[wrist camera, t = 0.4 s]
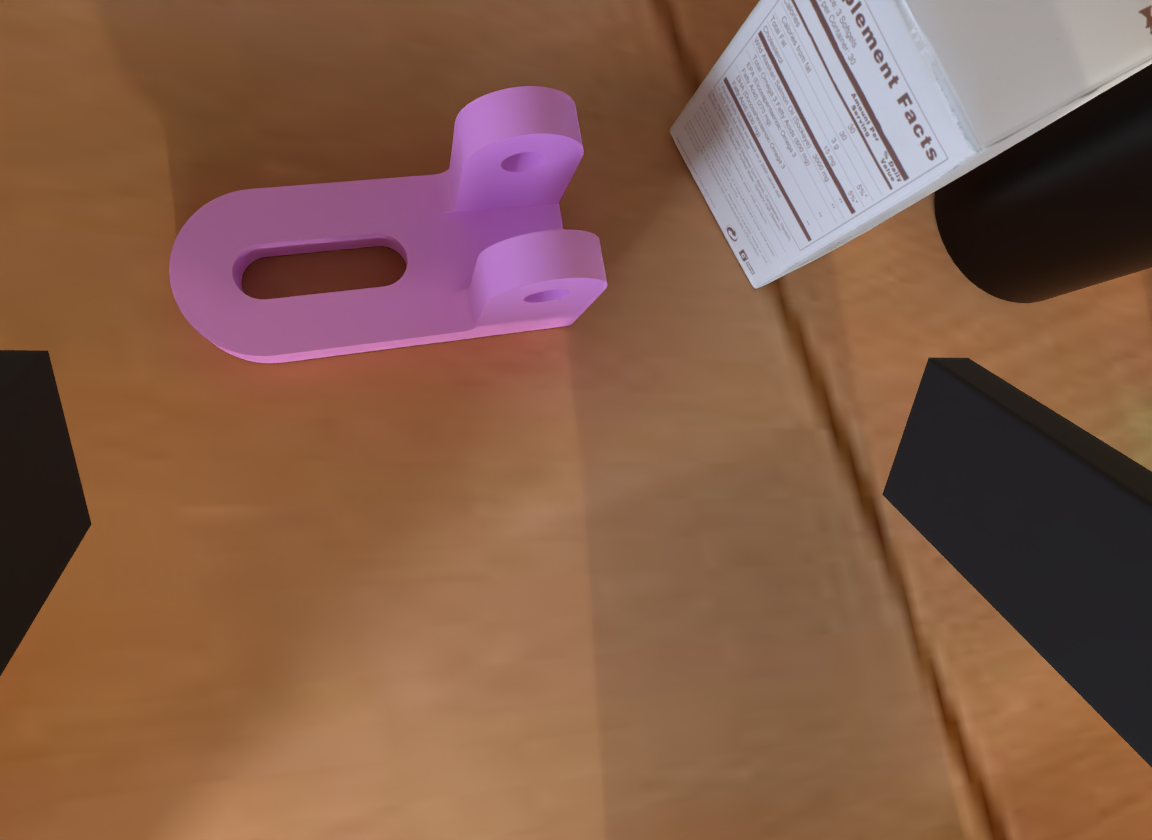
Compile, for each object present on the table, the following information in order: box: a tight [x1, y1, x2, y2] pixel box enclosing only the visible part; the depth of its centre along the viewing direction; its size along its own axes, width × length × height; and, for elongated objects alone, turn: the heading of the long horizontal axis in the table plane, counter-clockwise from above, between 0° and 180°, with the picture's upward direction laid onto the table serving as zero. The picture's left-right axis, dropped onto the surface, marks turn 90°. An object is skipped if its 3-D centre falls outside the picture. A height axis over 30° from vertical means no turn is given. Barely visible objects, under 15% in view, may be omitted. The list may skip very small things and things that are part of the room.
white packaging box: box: [670, 0, 1152, 289], centre depth 24 cm, size 7×7×13 cm
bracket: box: [169, 86, 607, 363], centre depth 23 cm, size 13×6×7 cm, turn 100°
